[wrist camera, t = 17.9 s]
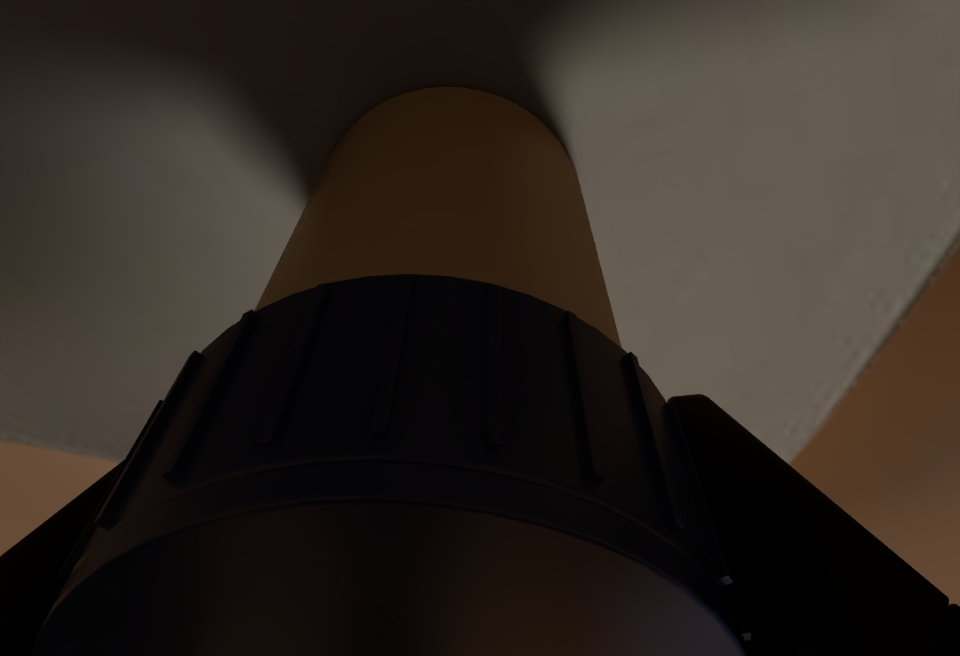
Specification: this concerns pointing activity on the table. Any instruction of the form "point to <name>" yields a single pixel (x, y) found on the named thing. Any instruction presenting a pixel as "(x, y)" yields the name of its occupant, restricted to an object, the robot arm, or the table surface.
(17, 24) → the table surface
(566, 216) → the jar
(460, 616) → the jar lid
